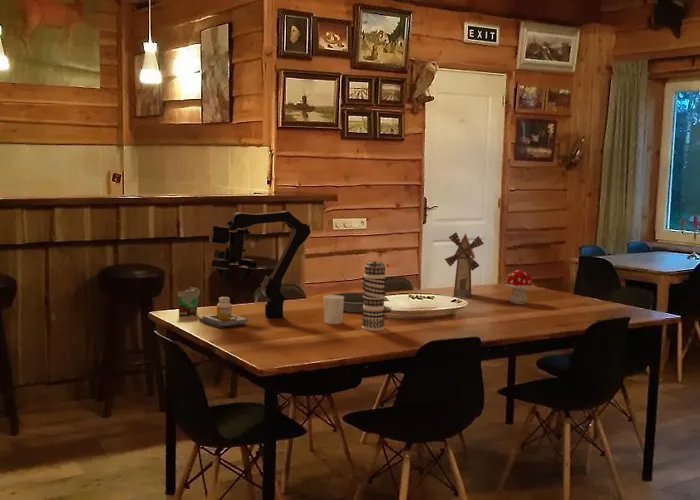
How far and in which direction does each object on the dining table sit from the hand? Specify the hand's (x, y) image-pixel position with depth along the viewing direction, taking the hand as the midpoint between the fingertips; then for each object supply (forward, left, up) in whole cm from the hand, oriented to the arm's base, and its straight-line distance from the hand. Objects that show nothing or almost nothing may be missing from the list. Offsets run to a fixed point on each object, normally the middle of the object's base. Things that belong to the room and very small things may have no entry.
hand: (232, 285), depth 317 cm
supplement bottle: (+3, +8, -13) cm, 16 cm away
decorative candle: (-51, +21, -13) cm, 57 cm away
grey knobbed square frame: (+4, +8, -13) cm, 16 cm away
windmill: (-110, -45, -13) cm, 120 cm away
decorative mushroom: (-129, -25, -13) cm, 132 cm away
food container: (+15, -9, -13) cm, 22 cm away
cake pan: (-54, -20, -13) cm, 59 cm away
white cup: (-38, +10, -13) cm, 41 cm away
